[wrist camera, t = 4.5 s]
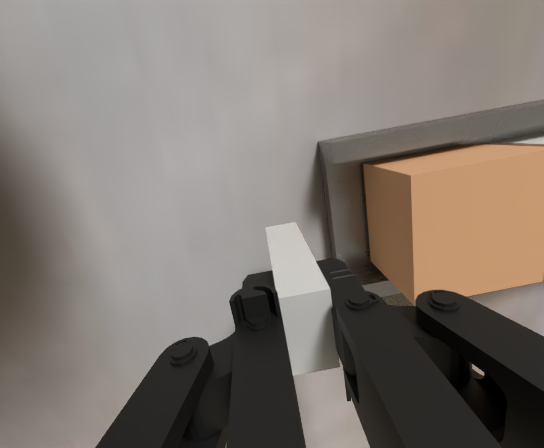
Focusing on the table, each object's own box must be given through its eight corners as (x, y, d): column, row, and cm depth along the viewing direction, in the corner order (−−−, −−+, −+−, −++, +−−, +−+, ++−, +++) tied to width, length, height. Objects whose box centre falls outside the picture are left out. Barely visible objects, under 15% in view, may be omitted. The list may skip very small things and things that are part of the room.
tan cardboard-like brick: (370, 261, 18) (414, 306, 13) (363, 163, 16) (410, 175, 11) (465, 242, 18) (542, 281, 13) (468, 143, 16) (559, 147, 12)
